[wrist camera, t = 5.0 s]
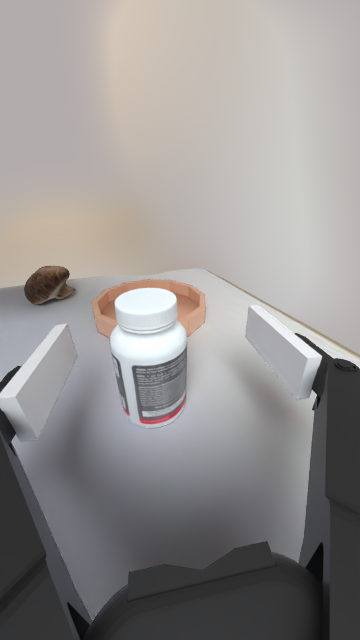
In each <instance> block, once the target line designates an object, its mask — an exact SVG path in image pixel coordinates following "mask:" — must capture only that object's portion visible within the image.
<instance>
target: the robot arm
mask: <svg viewBox="0 0 360 640" xmlns="http://www.w3.org/2000/svg"><path fill="white" fill-rule="evenodd" d="M245 337H246V338H247V340H248V341H249V342H250V343H251V345H252V346H253V347H254V348H255V350H256V351H257V352H258V353H259V355H260V356H261V357H262V358H263V360H264V361H265V362H266V363H267V364H268V366H269V367H270V368H271V369H272V371H273V372H274V373H275V374H276V376H277V377H278V378H279V379H280V381H281V382H282V383H283V384H284V386H285V387H286V388H287V389H288V390H289V392H290V393H291V394H292V395H293V397H294V398H295V399H296V400H299V399H305V398H309V397H310V394H311V391H312V390H313V391H314V392H315V393H316V394H317V397H316V400H315V403H314V405H313V408H312V410H314V423H313V435H312V447H311V459H310V471H309V483H308V495H307V507H306V519H305V531H304V539H303V544H302V549H301V553H300V559H299V564H298V563H297V562H295V561H294V560H292V559H290V558H288V557H286V556H284V555H281V554H278V553H274V552H271V550H270V548H269V545H268V542H267V541H266V542H261V543H257V544H252V545H248V546H243V547H239V548H235V549H233V550H232V551H230V552H229V553H228V554H226V555H225V556H223V557H222V558H220V559H219V560H217V561H216V562H214V563H213V564H212V565H210V566H209V567H207V568H206V569H203V570H197V569H190V568H184V567H178V566H172V565H166V564H164V565H159V566H155V567H150V568H146V569H142V570H137V571H133V572H129V581H128V585H126V586H125V587H123V588H122V589H121V590H119V591H118V592H117V593H116V594H115V595H114V596H113V597H112V598H111V599H110V600H109V601H108V602H107V603H106V604H105V605H104V607H103V608H102V609H101V611H100V612H99V613H98V615H97V616H96V617H95V619H94V620H93V622H92V621H91V618H90V616H89V614H88V612H87V610H86V608H85V606H84V604H83V602H82V600H81V598H80V597H79V595H78V593H77V591H76V589H75V587H74V585H73V582H72V580H71V578H70V575H69V573H68V571H67V568H66V566H65V564H64V562H63V559H62V557H61V555H60V552H59V550H58V548H57V545H56V543H55V541H54V538H53V536H52V534H51V532H50V529H49V527H48V525H47V522H46V520H45V518H44V515H43V513H42V511H41V508H40V506H39V504H38V502H37V499H36V497H35V495H34V492H33V490H32V488H31V485H30V483H29V481H28V478H27V476H26V474H25V472H24V469H23V467H22V465H21V462H20V460H19V458H18V455H17V453H16V451H15V449H14V446H13V445H12V443H11V441H12V439H13V437H14V436H15V434H16V435H17V437H18V439H19V440H20V442H23V441H30V440H37V439H38V438H39V436H40V434H41V432H42V430H43V428H44V425H45V423H46V421H47V419H48V417H49V415H50V413H51V411H52V409H53V407H54V405H55V403H56V400H57V398H58V396H59V394H60V392H61V390H62V388H63V386H64V384H65V382H66V380H67V378H68V375H69V373H70V371H71V369H72V367H73V365H74V363H75V361H76V359H77V357H78V356H77V352H76V349H75V346H74V343H73V340H72V337H71V334H70V330H69V327H68V324H59V325H55V326H54V328H53V329H52V330H51V331H50V332H49V334H48V335H47V336H46V337H45V339H44V340H43V341H42V342H41V344H40V345H39V346H38V347H37V348H36V350H35V351H34V352H33V353H32V355H31V356H30V357H29V358H28V360H27V361H26V362H25V363H24V364H23V366H17V367H16V368H14V369H13V370H12V371H10V372H9V373H8V374H7V375H6V376H5V377H4V378H3V380H2V381H1V382H0V640H360V369H359V367H358V366H356V365H355V364H353V363H352V362H350V361H347V360H344V359H338V358H336V359H333V358H332V357H331V356H329V355H328V354H327V353H326V352H324V351H323V350H322V349H320V348H319V347H318V346H316V345H315V344H314V343H312V342H311V341H310V340H309V339H307V338H306V337H304V336H302V335H300V334H298V333H293V332H291V331H290V330H289V329H288V328H286V327H285V326H284V325H283V324H281V323H280V322H279V321H278V320H277V319H275V318H274V317H273V316H272V315H270V314H269V313H268V312H267V311H265V310H264V309H263V308H262V307H260V306H259V305H251V306H249V308H248V317H247V326H246V335H245Z"/></svg>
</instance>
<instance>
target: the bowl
mask: <svg viewBox="0 0 360 640" xmlns="http://www.w3.org/2000/svg"><path fill="white" fill-rule="evenodd" d="M140 288H160V289H165V290H168V291H170V292H172V293H173V294H175V296H176V298H177V310H178V316H177V320H178V321H179V322H180V323H181V324H182V325H183V327H184V328H185V331H186V335H187V336H189V335H190V334H192V333H193V332H194V331H195V330H196V329H197V328H199V327H200V326H201V325H202V324H203V323H204V322H205V294H204V293H202V292H201V291H199V290H198V289H197V288H195V287H194V286H192V285H189V284H185V283H181V282H177V281H173V280H149V279H148V280H141V281H134V282H127V283H123V284H120V285H117V286H115V287H112V288H109V289H107V290H104V291H103V292H102V293H101V294H99V295H98V296H97V297H96V298H95V299H94V300H93V301H92V302H91V304H92V308H93V313H94V317H95V321H96V325H97V329H98V332H99V333H101V334H103V335H105V336H107V337H109V338H110V336H111V333H112V331H113V330H114V328H115V327H116V326H117V325H118V324H117V320H116V312H115V300H116V299H117V298H118V297H119V296H120V295H121V294H123V293H125V292H128V291H131V290H135V289H140Z"/></svg>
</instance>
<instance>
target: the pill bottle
mask: <svg viewBox="0 0 360 640" xmlns="http://www.w3.org/2000/svg"><path fill="white" fill-rule="evenodd" d="M115 312H116V320H117V324H118V325H117V326H116V327H115V328H114V330H113V331H112V333H111V336H110V349H111V354H112V358H113V363H114V368H115V373H116V378H117V383H118V387H119V392H120V397H121V402H122V405H123V410H124V413H125V415H126V416H127V418H128V419H129V420H130V421H131V422H132V423H134V424H136V425H138V426H140V427H145V428H157V427H162V426H165V425H168V424H170V423H171V422H173V421H174V420H175V419H176V418H178V417H179V415H180V414H181V412H182V411H183V409H184V406H185V400H186V362H187V335H186V331H185V328H184V327H183V325H182V324H181V323H180V322H179V321H178V320H177V316H178V310H177V298H176V296H175V294H173V293H172V292H170V291H168V290H165V289H160V288H140V289H135V290H131V291H128V292H125V293H123V294H121V295H120V296H119V297H118V298H117V299H116V300H115Z"/></svg>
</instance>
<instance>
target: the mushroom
mask: <svg viewBox="0 0 360 640" xmlns="http://www.w3.org/2000/svg"><path fill="white" fill-rule="evenodd" d="M68 278H69V271H68V270H67V269H66V268H64V267H60V266H45V267H41V268H40V269H38V270H37V271H36V272H35V273H34V274H33V275H32V276H31V277H30V278H29V279H28V280H27V282H26V285H25V287H24V292H25V296H26V298H27V299H28V300H29V301H30V302H31V303H33V304H41V303H44V302H45V301H47V300H49V299H52V298H56V299H64V298H66V297H68V296H69V295H71V294H72V293H73V292H74V291H75V289H73V288H71V287H69V286H67V285H66V280H67V279H68Z"/></svg>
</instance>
